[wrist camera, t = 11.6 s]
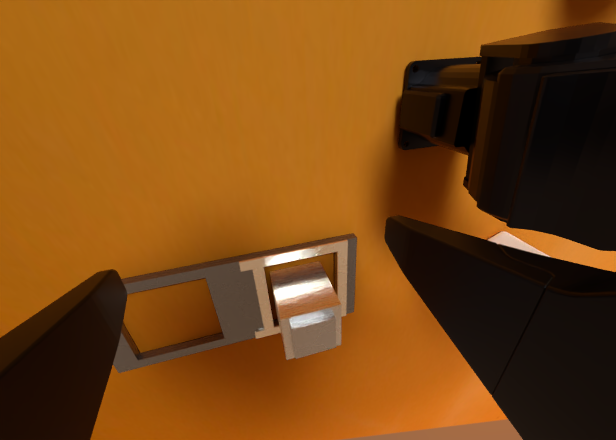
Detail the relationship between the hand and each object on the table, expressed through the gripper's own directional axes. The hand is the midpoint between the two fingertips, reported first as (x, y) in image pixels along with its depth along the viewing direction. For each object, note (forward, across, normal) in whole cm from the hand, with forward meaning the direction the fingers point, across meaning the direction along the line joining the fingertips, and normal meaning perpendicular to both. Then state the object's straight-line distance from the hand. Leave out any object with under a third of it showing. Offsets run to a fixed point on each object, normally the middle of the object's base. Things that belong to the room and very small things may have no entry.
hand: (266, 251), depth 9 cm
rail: (+13, +3, +14) cm, 19 cm away
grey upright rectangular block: (+13, -3, +14) cm, 19 cm away
